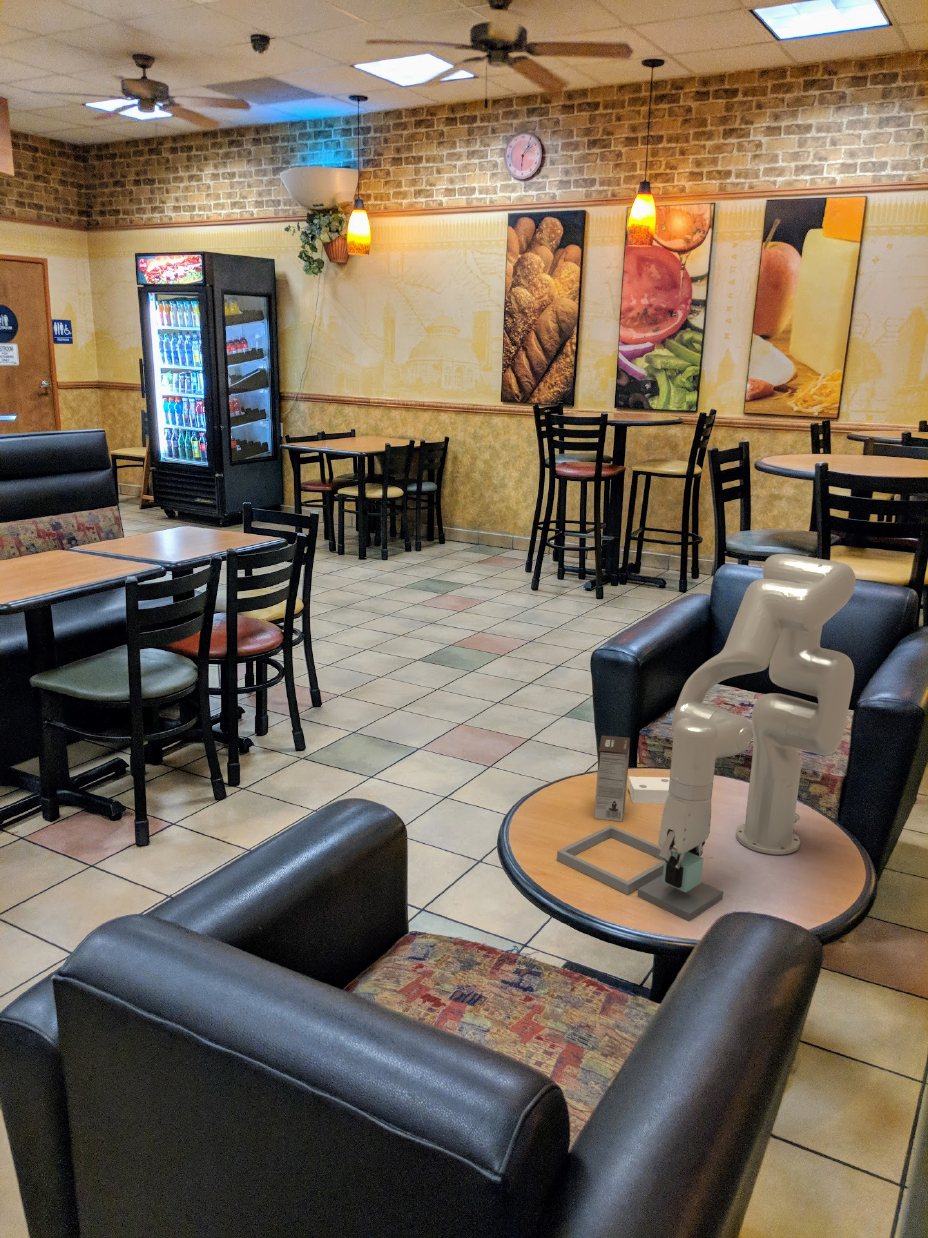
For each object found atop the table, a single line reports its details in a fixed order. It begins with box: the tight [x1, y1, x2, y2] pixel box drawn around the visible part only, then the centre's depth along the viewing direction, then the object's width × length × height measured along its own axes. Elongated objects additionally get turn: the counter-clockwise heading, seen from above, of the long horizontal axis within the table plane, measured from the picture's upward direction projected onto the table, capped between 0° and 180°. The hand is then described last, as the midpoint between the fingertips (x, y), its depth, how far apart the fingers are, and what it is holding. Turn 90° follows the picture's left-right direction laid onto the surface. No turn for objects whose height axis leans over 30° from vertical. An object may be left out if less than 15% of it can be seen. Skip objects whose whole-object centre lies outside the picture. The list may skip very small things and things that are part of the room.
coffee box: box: [594, 735, 631, 823], centre depth 205 cm, size 9×6×16 cm
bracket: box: [627, 776, 670, 805], centre depth 214 cm, size 13×7×8 cm, turn 90°
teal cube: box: [662, 851, 704, 892], centre depth 172 cm, size 5×5×5 cm
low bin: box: [556, 824, 664, 895], centre depth 185 cm, size 17×17×2 cm
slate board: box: [636, 874, 724, 922], centre depth 173 cm, size 11×11×2 cm
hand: (681, 878), depth 172 cm, fingers closed on teal cube, 4 cm apart
